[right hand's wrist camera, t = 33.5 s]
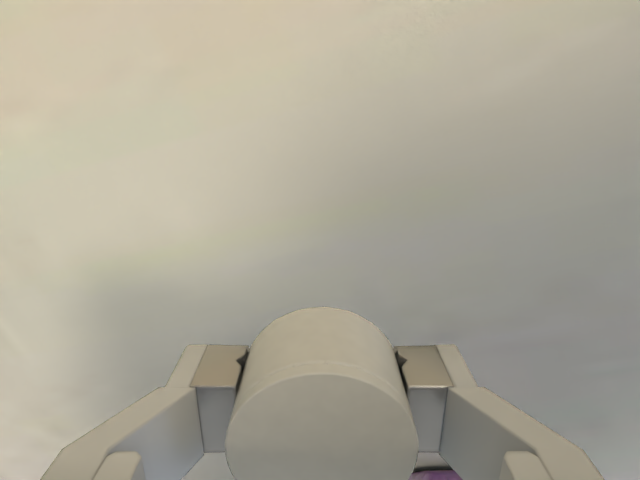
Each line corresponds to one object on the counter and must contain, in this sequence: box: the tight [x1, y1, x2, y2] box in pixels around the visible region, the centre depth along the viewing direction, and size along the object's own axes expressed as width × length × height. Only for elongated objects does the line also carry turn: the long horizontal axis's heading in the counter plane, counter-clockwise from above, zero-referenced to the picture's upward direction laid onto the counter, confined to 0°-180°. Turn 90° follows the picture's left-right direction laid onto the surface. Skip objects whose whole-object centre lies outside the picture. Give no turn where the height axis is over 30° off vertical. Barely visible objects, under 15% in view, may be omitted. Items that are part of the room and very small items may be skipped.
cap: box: [225, 307, 418, 480], centre depth 9 cm, size 4×4×2 cm
